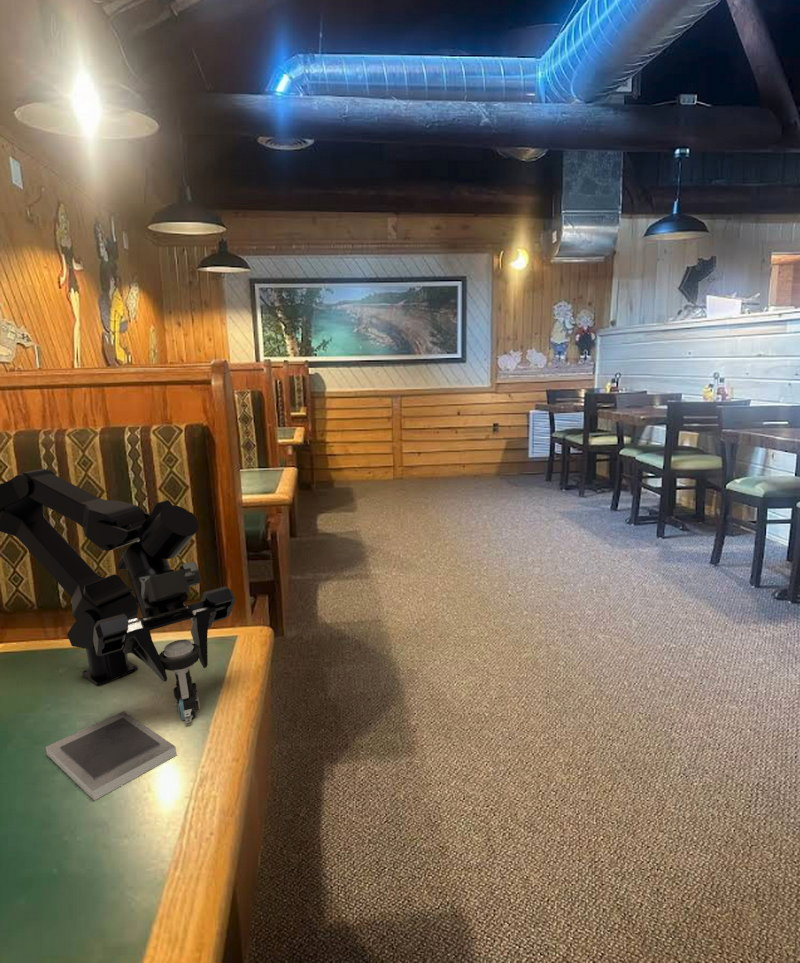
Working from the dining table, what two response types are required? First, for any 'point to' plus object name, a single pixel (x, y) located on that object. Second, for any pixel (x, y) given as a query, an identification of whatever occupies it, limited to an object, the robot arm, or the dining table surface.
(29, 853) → the dining table surface
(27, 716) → the dining table surface
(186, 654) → the push button
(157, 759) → the mounting plate
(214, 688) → the dining table surface
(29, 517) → the robot arm
